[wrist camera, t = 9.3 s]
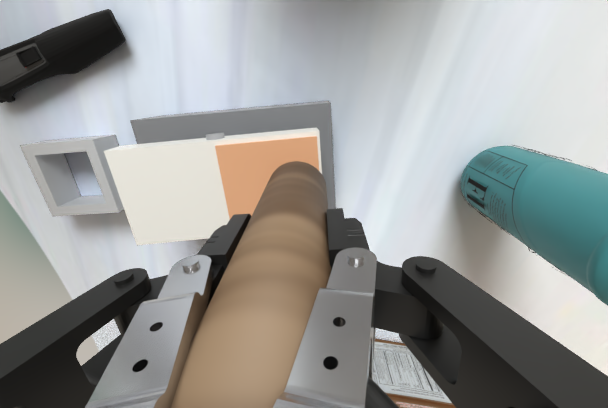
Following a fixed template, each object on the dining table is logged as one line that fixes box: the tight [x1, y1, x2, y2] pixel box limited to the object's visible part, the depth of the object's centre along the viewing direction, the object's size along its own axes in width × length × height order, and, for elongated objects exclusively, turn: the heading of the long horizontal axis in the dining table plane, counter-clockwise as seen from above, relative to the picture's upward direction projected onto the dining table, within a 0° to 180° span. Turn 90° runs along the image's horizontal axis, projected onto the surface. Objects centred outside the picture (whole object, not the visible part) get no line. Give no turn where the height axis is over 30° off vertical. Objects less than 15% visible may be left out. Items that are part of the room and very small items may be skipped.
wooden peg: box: [171, 161, 332, 408], centre depth 11 cm, size 4×4×14 cm
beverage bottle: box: [461, 146, 608, 305], centre depth 18 cm, size 6×7×20 cm
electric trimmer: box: [0, 9, 125, 103], centre depth 24 cm, size 4×16×3 cm, turn 108°
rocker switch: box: [104, 127, 322, 245], centre depth 20 cm, size 8×14×2 cm, turn 95°
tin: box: [373, 339, 456, 408], centre depth 33 cm, size 15×3×8 cm, turn 81°
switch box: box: [131, 101, 336, 209], centre depth 25 cm, size 10×16×7 cm, turn 95°
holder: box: [20, 135, 124, 216], centre depth 28 cm, size 7×7×3 cm
